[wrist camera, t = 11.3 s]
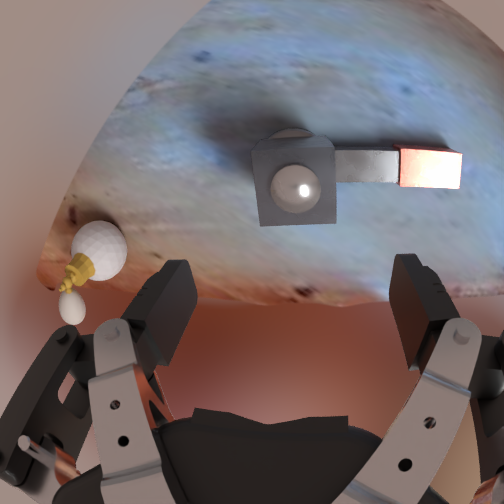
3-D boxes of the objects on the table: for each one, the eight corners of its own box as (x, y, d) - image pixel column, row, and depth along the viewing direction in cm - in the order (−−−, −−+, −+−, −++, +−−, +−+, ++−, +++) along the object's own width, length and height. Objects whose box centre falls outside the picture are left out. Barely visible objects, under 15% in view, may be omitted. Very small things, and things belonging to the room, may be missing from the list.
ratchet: (450, 133, 21) (478, 143, 16) (446, 195, 24) (470, 216, 20) (254, 131, 25) (244, 138, 20) (262, 198, 28) (255, 220, 24)
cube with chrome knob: (325, 135, 22) (335, 147, 16) (328, 195, 25) (337, 225, 19) (261, 139, 23) (249, 152, 18) (268, 198, 26) (259, 229, 20)
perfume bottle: (127, 209, 31) (65, 262, 21) (147, 275, 36) (103, 338, 26) (85, 214, 33) (26, 261, 23) (106, 273, 38) (61, 328, 27)
